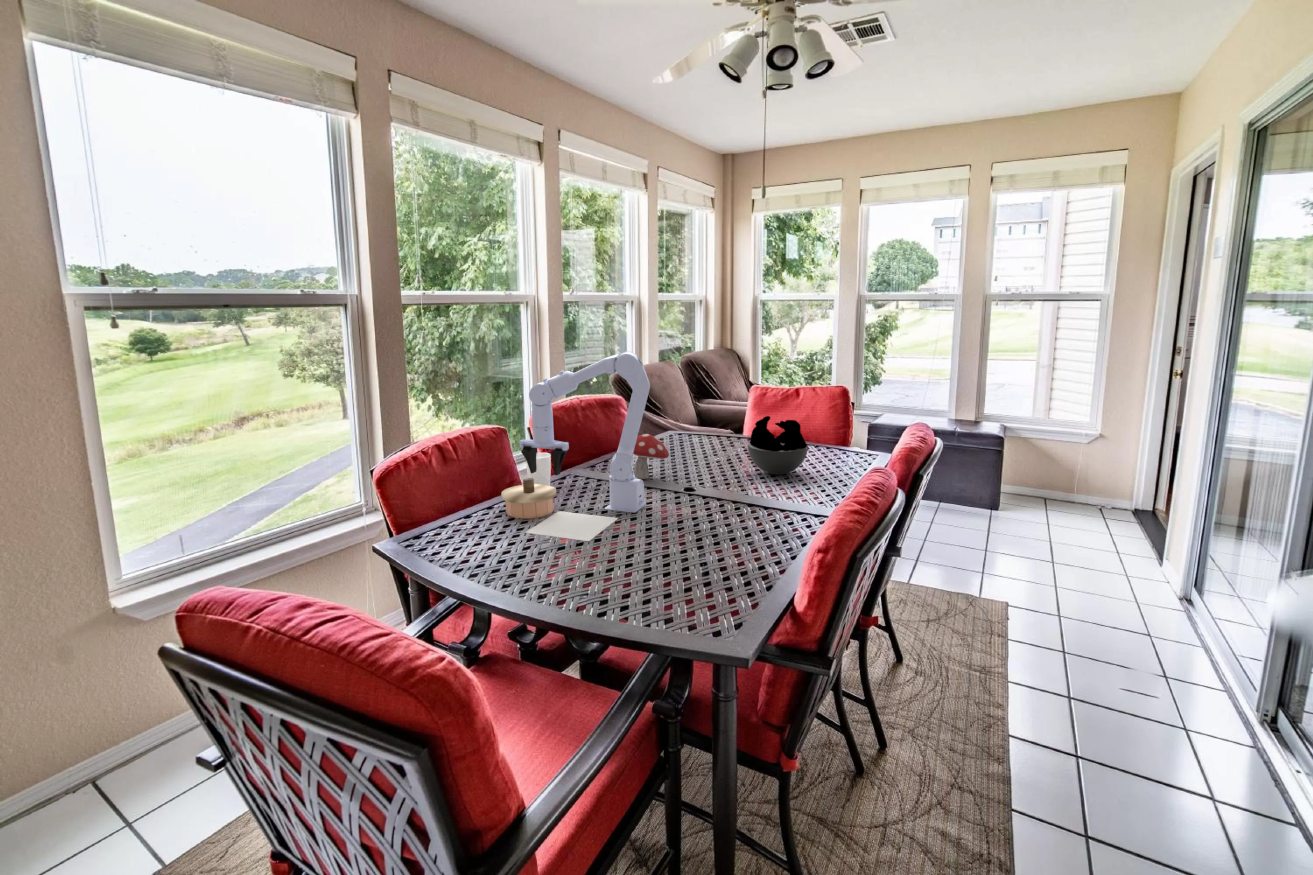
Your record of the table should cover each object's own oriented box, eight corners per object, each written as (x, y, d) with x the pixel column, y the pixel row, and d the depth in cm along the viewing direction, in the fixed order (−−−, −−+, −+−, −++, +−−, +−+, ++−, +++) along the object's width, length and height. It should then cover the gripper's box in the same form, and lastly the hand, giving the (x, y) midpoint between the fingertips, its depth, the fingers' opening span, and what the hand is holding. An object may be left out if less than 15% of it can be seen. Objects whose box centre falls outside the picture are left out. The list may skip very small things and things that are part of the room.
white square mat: (618, 519, 176) (618, 518, 176) (588, 542, 160) (588, 541, 160) (559, 512, 182) (559, 511, 182) (524, 534, 166) (524, 532, 166)
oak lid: (565, 489, 187) (564, 474, 186) (541, 505, 173) (540, 489, 172) (518, 485, 191) (517, 470, 190) (491, 500, 177) (490, 484, 176)
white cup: (556, 483, 211) (555, 453, 209) (542, 490, 204) (541, 459, 202) (536, 481, 214) (535, 451, 212) (522, 487, 207) (520, 456, 205)
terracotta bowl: (562, 507, 187) (561, 490, 186) (538, 521, 175) (538, 504, 174) (522, 502, 191) (521, 486, 190) (497, 516, 179) (496, 499, 178)
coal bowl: (812, 481, 211) (815, 424, 207) (750, 481, 212) (752, 424, 208) (800, 466, 231) (802, 413, 227) (743, 466, 231) (744, 413, 227)
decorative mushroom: (640, 469, 227) (640, 427, 224) (678, 476, 218) (678, 432, 215) (611, 480, 215) (610, 435, 212) (650, 487, 206) (650, 441, 202)
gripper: (512, 427, 180) (515, 475, 183) (559, 430, 175) (561, 479, 178) (525, 422, 187) (528, 468, 189) (571, 425, 182) (573, 472, 185)
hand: (545, 473), depth 184 cm, fingers open, 7 cm apart
